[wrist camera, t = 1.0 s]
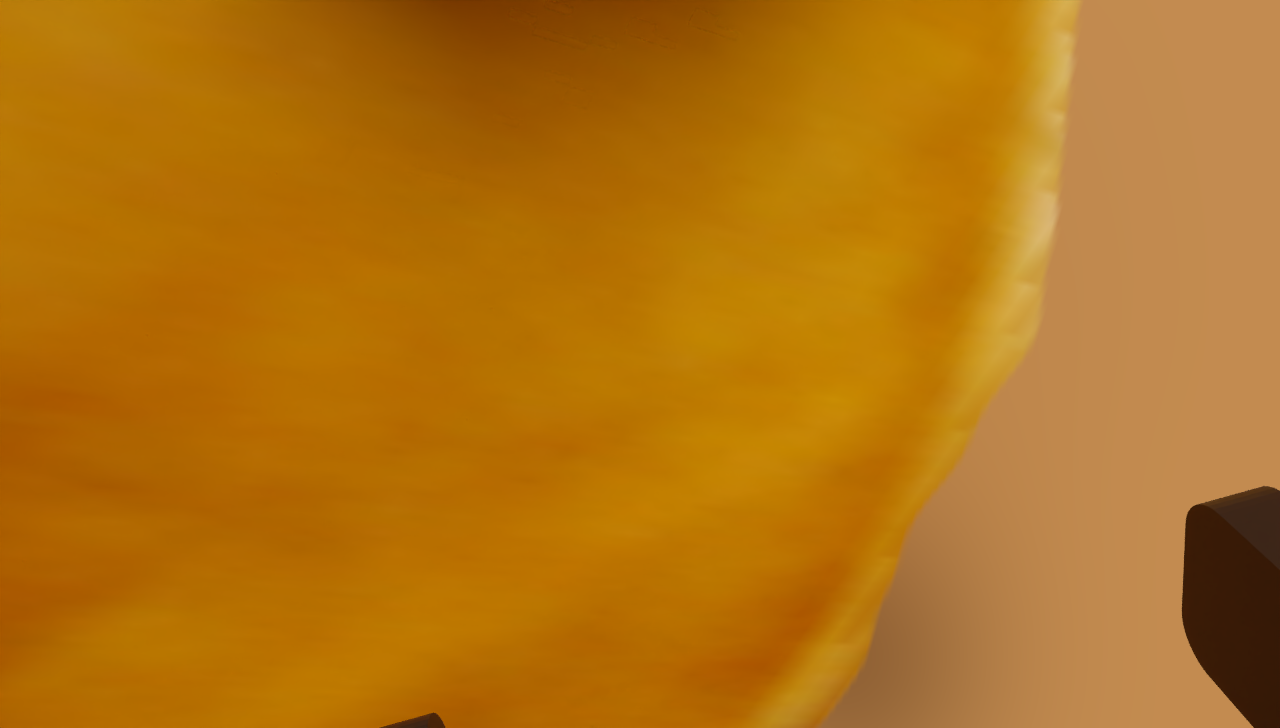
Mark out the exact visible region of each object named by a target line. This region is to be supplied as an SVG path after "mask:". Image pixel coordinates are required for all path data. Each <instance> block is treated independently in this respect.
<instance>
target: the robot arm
mask: <svg viewBox="0 0 1280 728" xmlns="http://www.w3.org/2000/svg"><path fill="white" fill-rule="evenodd" d="M1182 618H1183V625H1184V629H1185V633H1186V636H1187V639H1188V641H1189V644H1190V646H1191V648H1192V650H1193V652H1194V654H1195V656H1196V658H1197V660H1198V661H1199V663H1200V665H1201V666H1202V667H1203V669H1204V670H1205V672H1206V673H1207V674H1208V675H1209V677H1210V678H1211V679H1212V680H1213V681H1214V682H1215V683H1216V685H1217V686H1218V687H1219V688H1220V689H1221V690H1222V691H1223V693H1224V694H1225V695H1226V696H1227V697H1228V698H1229V700H1230V701H1231V702H1232V703H1233V704H1234V705H1235V706H1236V708H1237V709H1238V710H1239V711H1240V712H1241V713H1242V714H1243V716H1244V717H1245V718H1246V719H1247V720H1248V721H1249V722H1250V724H1251V725H1252V726H1253V727H1254V728H1280V491H1279V490H1277V489H1275V488H1272V487H1268V486H1263V487H1259V488H1256V489H1252V490H1248V491H1245V492H1241V493H1238V494H1234V495H1230V496H1227V497H1223V498H1219V499H1216V500H1213V501H1209V502H1205V503H1201V504H1198V505H1195V506H1193V507H1192V508H1191V509H1190V510H1189V512H1188V514H1187V518H1186V528H1185V551H1184V574H1183V597H1182ZM381 728H445V726H444V724H443V722H442V720H441V718H440V717H439V716H438V715H437V714H436V713H431V714H428V715H424V716H420V717H417V718H413V719H410V720H406V721H402V722H399V723H395V724H392V725H388V726H384V727H381Z"/></svg>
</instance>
